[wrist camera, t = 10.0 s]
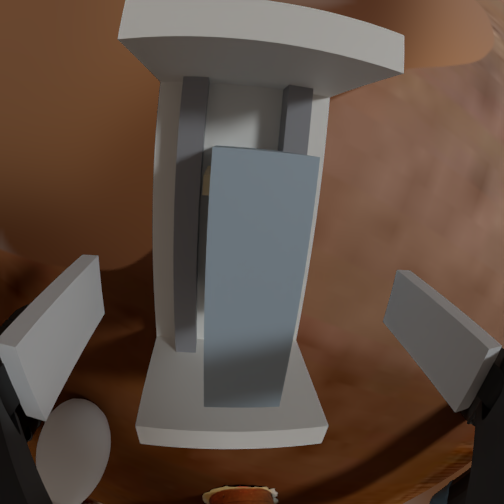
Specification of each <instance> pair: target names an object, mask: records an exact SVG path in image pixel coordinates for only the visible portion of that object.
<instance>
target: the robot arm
mask: <svg viewBox="0 0 504 504" xmlns="http://www.w3.org/2000/svg"><path fill="white" fill-rule="evenodd" d="M98 257H99V256H98V255H81V256H80V257H79V258H78V259H77V260H76V261H75V262H74V263H73V264H72V265H70V266H69V267H68V268H67V269H66V270H65V271H64V272H63V273H62V274H61V275H60V276H58V277H57V278H56V279H55V280H54V281H53V282H52V283H51V284H50V285H49V286H48V287H47V288H46V289H45V290H44V291H43V292H42V293H41V294H40V295H39V296H38V297H37V298H36V299H35V300H34V301H33V302H32V303H31V304H30V305H25V306H23V307H22V308H20V309H18V310H16V311H15V312H14V313H13V314H12V315H11V316H10V317H9V318H8V320H6V321H5V322H4V323H3V324H2V326H0V504H53V503H52V501H51V499H50V497H49V495H48V493H47V491H46V488H45V486H44V484H43V482H42V480H41V477H40V475H39V473H38V470H37V468H36V466H35V463H34V461H33V458H32V455H31V453H30V450H29V448H28V445H27V442H26V439H25V436H24V433H23V430H22V427H21V424H20V421H19V418H18V416H17V414H16V412H15V409H16V407H17V406H18V404H19V402H20V404H21V406H22V408H23V410H24V412H25V414H26V416H29V417H33V418H36V419H39V420H42V421H47V419H48V416H49V414H50V412H51V410H52V408H53V406H54V404H55V402H56V400H57V398H58V396H59V394H60V392H61V390H62V389H63V387H64V385H65V383H66V381H67V379H68V377H69V375H70V373H71V372H72V370H73V368H74V366H75V364H76V362H77V361H78V359H79V357H80V355H81V353H82V352H83V350H84V348H85V346H86V345H87V343H88V341H89V339H90V338H91V336H92V334H93V332H94V331H95V329H96V327H97V326H98V324H99V322H100V321H101V319H102V317H103V316H104V314H105V312H104V304H103V296H102V288H101V279H100V269H99V258H98ZM383 322H384V324H385V325H386V326H387V327H388V328H389V330H390V331H391V332H392V333H393V335H394V336H395V337H396V338H397V339H398V341H399V342H400V343H401V344H402V345H403V347H404V348H405V349H406V350H407V352H408V353H409V354H410V355H411V357H412V358H413V359H414V360H415V362H416V363H417V364H418V365H419V367H420V368H421V369H422V370H423V372H424V373H425V374H426V376H427V377H428V378H429V379H430V381H431V382H432V383H433V384H434V386H435V387H436V388H437V390H438V391H439V392H440V394H441V395H442V396H443V398H444V399H445V400H446V401H447V403H448V404H449V405H450V407H451V408H452V409H453V411H454V412H455V413H456V412H459V411H461V413H462V415H463V416H464V418H465V419H466V420H467V421H468V422H467V424H472V425H474V426H475V437H474V448H473V457H472V465H471V468H469V469H468V470H467V471H466V472H464V473H463V474H462V475H460V476H459V477H457V478H456V479H455V480H452V481H450V482H449V484H448V485H447V486H445V487H444V488H442V489H441V490H440V491H438V492H437V493H436V494H435V495H434V496H433V497H432V499H431V501H430V504H504V349H503V348H502V345H500V344H499V343H498V342H497V341H496V340H495V339H494V338H493V337H491V336H490V335H489V334H488V333H487V332H486V331H484V330H483V329H482V328H481V327H480V326H479V325H477V324H476V323H475V322H474V321H473V320H472V319H470V318H469V317H468V316H467V315H466V314H464V313H463V312H462V311H461V310H460V309H458V308H457V307H456V306H455V305H453V304H452V303H451V302H450V301H448V300H447V299H446V298H445V297H443V296H442V295H441V294H440V293H438V292H437V291H436V290H435V289H433V288H432V287H431V286H429V285H428V284H427V283H426V282H424V281H423V280H422V279H420V278H419V277H418V276H416V275H415V274H414V273H413V272H411V271H410V270H397V272H396V276H395V280H394V284H393V288H392V291H391V295H390V299H389V302H388V306H387V309H386V313H385V316H384V320H383Z"/></svg>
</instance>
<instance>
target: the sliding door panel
mask: <svg viewBox="0 0 504 504" xmlns="http://www.w3.org/2000/svg"><path fill="white" fill-rule="evenodd" d="M319 163H320V157H315V156H309V155H303V154H297V153H290V152H283V151H276V150H268V149H258V148H247V147H233V146H218V145H216V146H214V147H212V160H211V166H208V167H207V169H206V171H205V173H204V176H203V193H202V195H207V196H209V206H208V224H207V245H206V270H205V304H204V407H225V408H251V407H279V405H280V401H281V396H282V391H283V387H284V382H285V377H286V372H287V367H288V362H289V357H290V352H291V347H292V342H293V336H294V331H295V325H296V320H297V314H298V309H299V303H300V297H301V291H302V285H303V279H304V273H305V267H306V260H307V254H308V247H309V240H310V233H311V226H312V219H313V212H314V204H315V196H316V188H317V180H318V172H319Z"/></svg>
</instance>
